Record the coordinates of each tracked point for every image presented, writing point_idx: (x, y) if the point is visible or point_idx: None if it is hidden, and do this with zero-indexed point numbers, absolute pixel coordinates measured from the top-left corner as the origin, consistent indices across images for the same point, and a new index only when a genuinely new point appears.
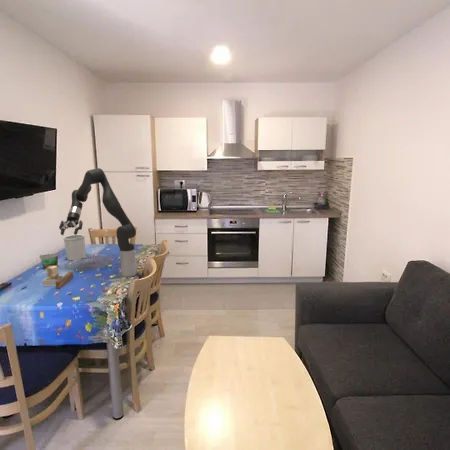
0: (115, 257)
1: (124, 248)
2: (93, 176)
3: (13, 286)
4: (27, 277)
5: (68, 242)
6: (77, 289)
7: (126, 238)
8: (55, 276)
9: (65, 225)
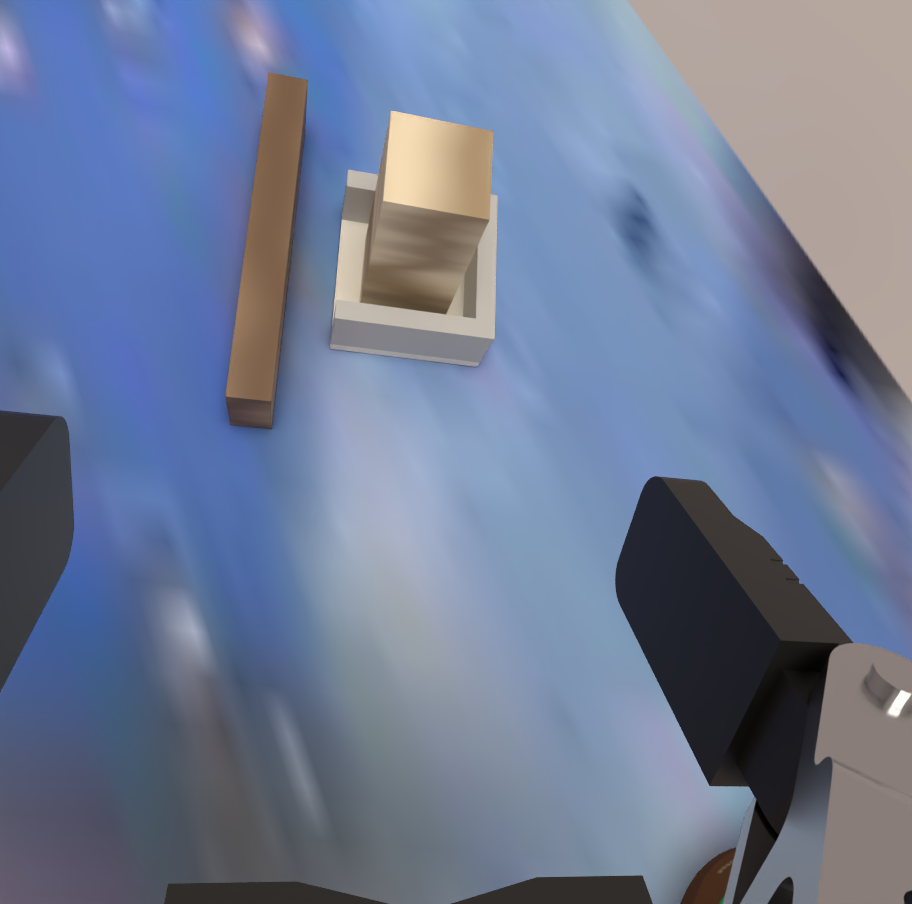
0: None
1: None
2: None
3: (762, 286)
4: (794, 526)
5: None
6: (58, 57)
7: None
8: (372, 209)
9: (854, 814)
